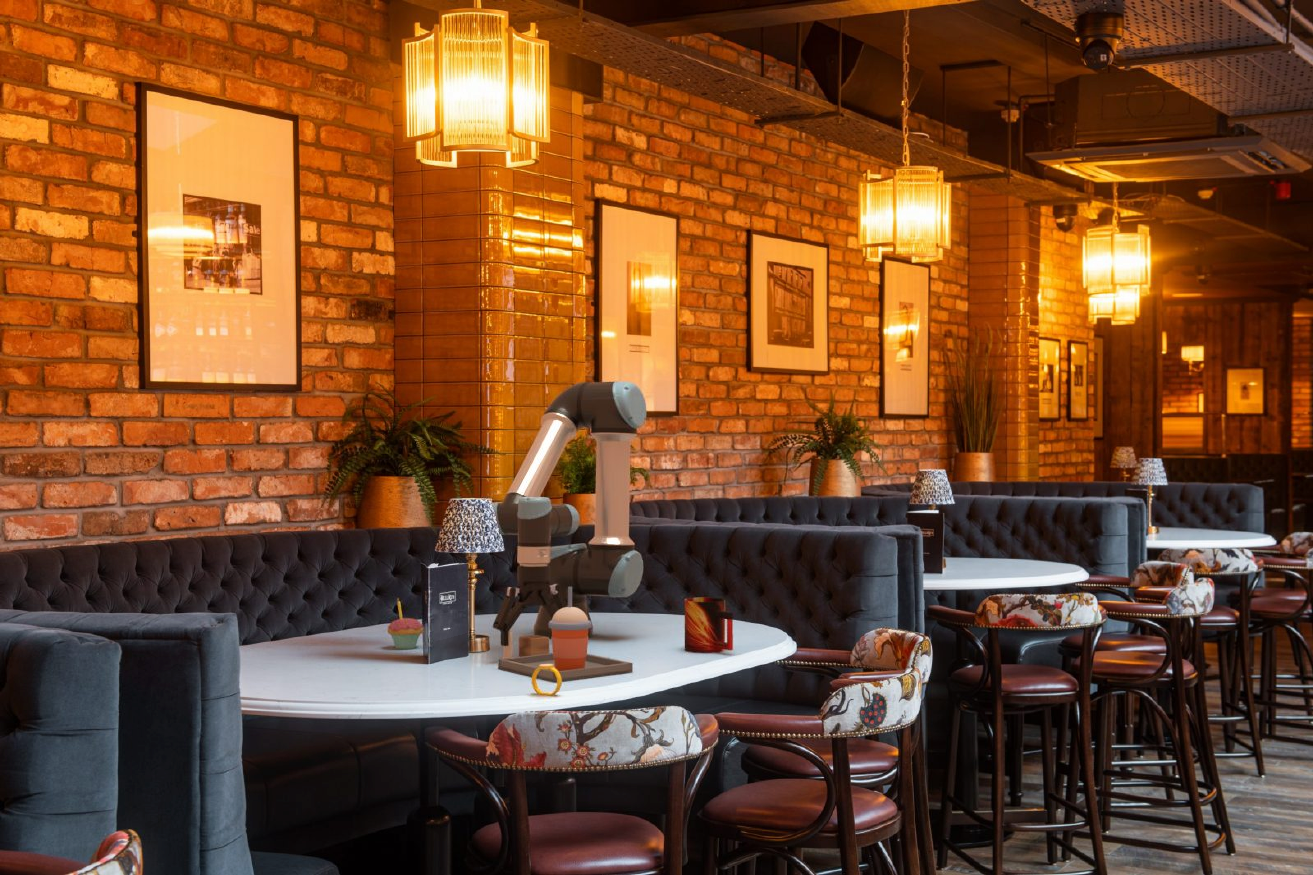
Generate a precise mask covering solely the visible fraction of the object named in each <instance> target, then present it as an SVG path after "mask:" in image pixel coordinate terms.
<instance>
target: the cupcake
mask: <svg viewBox="0 0 1313 875" xmlns="http://www.w3.org/2000/svg"><path fill="white" fill-rule="evenodd" d="M399 599H400V598H398V597H397V608H398V609H397V610H398V616H399V619H394V620H393V621H392V622H390V624H389V625H388V626H387V633H388V634H389V635H390V636H391V639H392V640H393V644H394V647H395V649H398V650H410V649H415V648H416V646H417V643H418V639H419V638H420V636H421V634H424V631H423V629H424V626H423V627H422V625H423V624H422V623H421V622H420V621H419V620H417V619H416V618H413V617H412V618H409V617H403V614H402V613H403V612H402V605H401V601H400V600H399Z"/></svg>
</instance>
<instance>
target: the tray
mask: <svg viewBox="0 0 1313 875" xmlns="http://www.w3.org/2000/svg"><path fill="white" fill-rule="evenodd" d="M541 664H553V667H554V668H555V661H554V657H553V652H552V653H551V652H549V654H541V655H533V656H524V657H519V656H516V657H513V658H506V659H503V658H498V659H497V667H498V670H502V671H507V672H511V673H515V674H519V675H524V676H527V677H531V678H532V675H533V673H534V671H535V670H536V669H537V668H539V665H541ZM633 664H634V662H629V661H625V660H619V659H615V658H610V657H605V656H600V655H595V654H589V653H587V656H586V659H585V668H581V669H573V670H565V671H559V673H560V675H561V679H562V682H571V681H575V680H576V681H577V680H578V681H579V680H585V679H592V678H600V677H608V676H614V675H621V674H629V673H630V674H633V673H634V672H633V669H634V667H633ZM536 679H539V680H545V681H549V682H552V683H557V678H556V676H555V674H554V672H553V671H551V670H550V669H541V670H539V672H538V674H537V677H536Z"/></svg>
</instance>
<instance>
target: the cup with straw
mask: <svg viewBox="0 0 1313 875" xmlns="http://www.w3.org/2000/svg"><path fill="white" fill-rule="evenodd" d="M591 622H592V620H591V621H589V620H588V618H587V616H586V614H585V613H584V612H583V611H582V610H580V609H579V608H576V607H572V587H568V607H565V608H562V609H560V610H558V611H557V612H556V613H555V614H554V616H553V618H552V620H551V621H550V622H549V628H551V629H552V637H551V638H550V639H551V647H552V653H553V657H554V661H555V668H556V669H557V670H558V671H565V670H573V669H581V668H585V659H586V656H587V654H588V645H589V636H588V629H589V628H590V627H591Z"/></svg>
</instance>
